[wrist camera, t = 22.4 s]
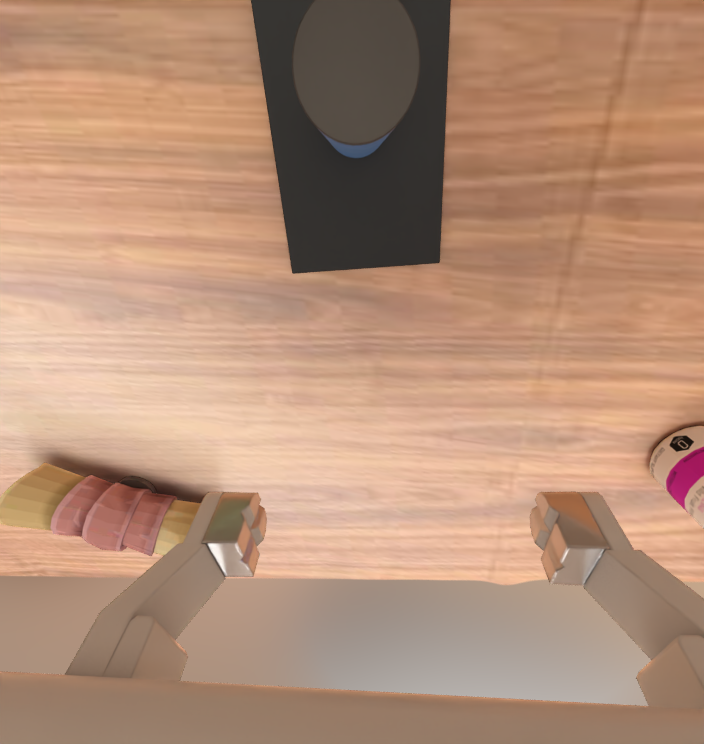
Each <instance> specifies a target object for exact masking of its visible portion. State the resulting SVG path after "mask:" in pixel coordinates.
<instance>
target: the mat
mask: <svg viewBox="0 0 704 744" xmlns="http://www.w3.org/2000/svg"><path fill="white" fill-rule="evenodd" d="M313 1H314V0H251V3H252V9H253V16H254V23H255V29H256V36H257V42H258V49H259V56H260V62H261V69H262V75H263V82H264V89H265V95H266V102H267V108H268V115H269V122H270V128H271V135H272V141H273V148H274V155H275V161H276V168H277V174H278V181H279V187H280V194H281V201H282V207H283V214H284V220H285V227H286V234H287V240H288V247H289V253H290V260H291V267H292V273H307V272H321V271H335V270H349V269H362V268H376V267H390V266H404V265H418V264H432V263H439V262H440V241H441V217H442V193H443V169H444V145H445V121H446V97H447V73H448V49H449V25H450V1H451V0H399V1H400V2H401V3H402V5H403V6H404V8H405V9H406V10H407V12H408V14H409V16H410V18H411V20H412V22H413V25H414V27H415V30H416V34H417V38H418V42H419V49H420V74H419V80H418V85H417V89H416V93H415V96H414V98H413V101H412V103H411V105H410V107H409V109H408V111H407V113H406V114H405V116H404V117H403V118H402V120H401V121H400V122H399V123H398V125H397V126H396V127H395V128H394V129H393V131H392V132H391V133H390V134H389V135H388V137H387V138H386V139H385V140H384V141H383V143H382V144H381V145H380V146H379V147H378V148H377V149H376V150H375V151H374V152H373V153H371V154H370V155H368V156H365V157H362V158H350V157H347V156H345V155H343V154H341V153H340V152H338V151H337V150H336V149H335V148H334V147H333V146H332V144H331V143H330V142H329V141H328V140H327V139H326V138H325V136H324V135H323V134H322V133H321V132H320V131H319V130H318V128H317V127H316V126H315V125H314V124H313V123H312V122H311V120H310V119H309V117H308V116H307V115H306V113H305V111H304V109H303V107H302V106H301V103H300V101H299V98H298V96H297V92H296V89H295V85H294V80H293V71H292V53H293V46H294V40H295V36H296V32H297V30H298V27H299V24H300V22H301V20H302V18H303V16H304V14H305V12H306V11H307V9H308V8H309V6H310V5H311V3H312V2H313Z"/></svg>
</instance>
